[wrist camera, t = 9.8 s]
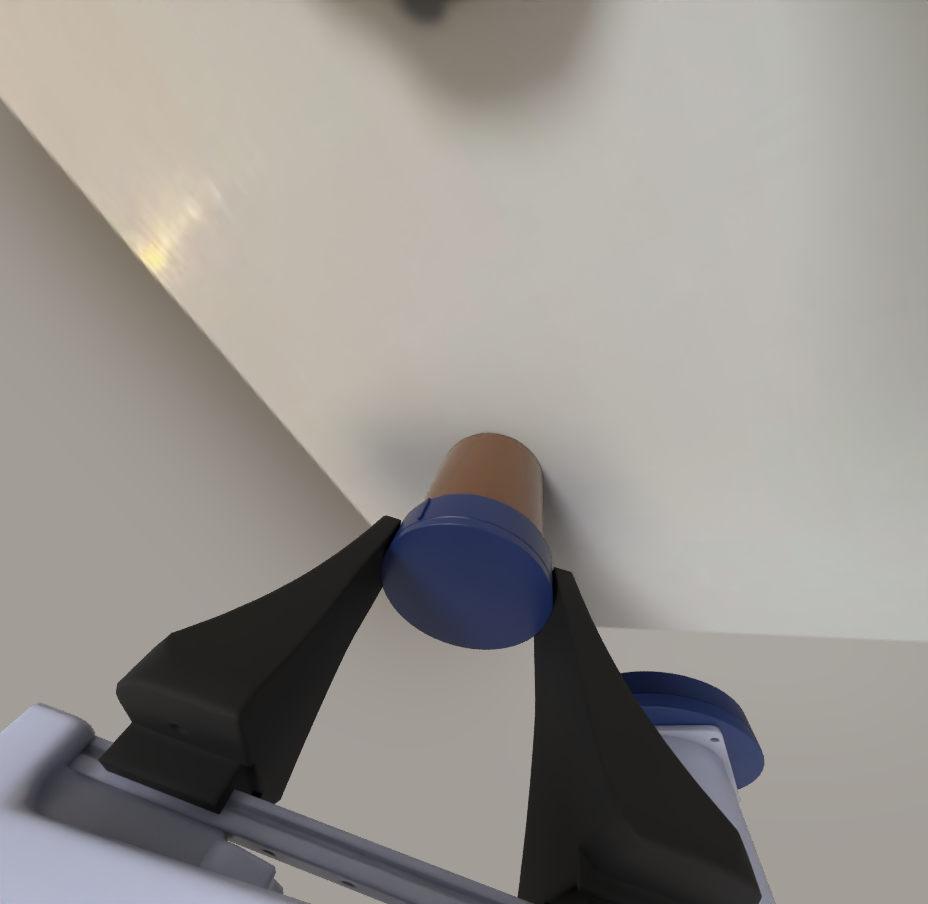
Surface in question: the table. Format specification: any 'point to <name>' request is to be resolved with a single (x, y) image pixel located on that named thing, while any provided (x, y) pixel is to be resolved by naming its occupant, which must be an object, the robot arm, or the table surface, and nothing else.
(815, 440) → the table surface
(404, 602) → the lid
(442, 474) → the jar
